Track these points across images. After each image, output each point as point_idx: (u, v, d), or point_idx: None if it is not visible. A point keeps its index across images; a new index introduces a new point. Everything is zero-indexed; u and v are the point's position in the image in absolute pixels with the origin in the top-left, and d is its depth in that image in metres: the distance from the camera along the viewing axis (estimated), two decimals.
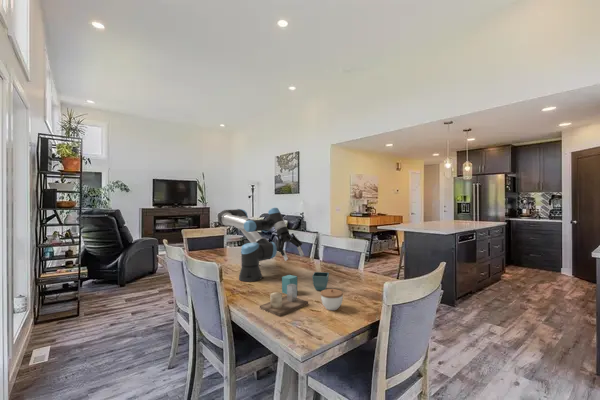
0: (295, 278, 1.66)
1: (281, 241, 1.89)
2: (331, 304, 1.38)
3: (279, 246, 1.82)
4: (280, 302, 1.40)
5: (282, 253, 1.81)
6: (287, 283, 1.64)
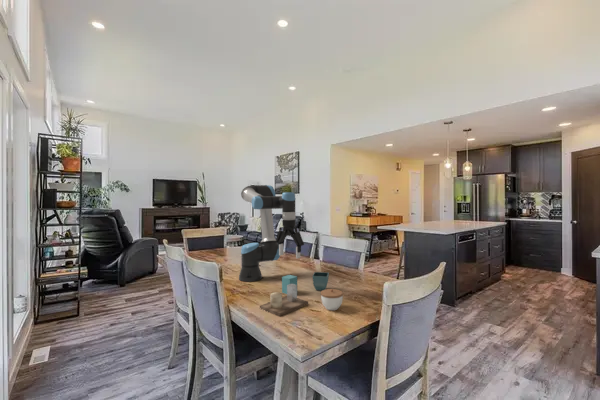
0: (295, 278, 1.66)
1: None
2: (331, 304, 1.38)
3: (277, 239, 1.72)
4: (280, 302, 1.40)
5: (278, 247, 1.72)
6: (287, 283, 1.64)
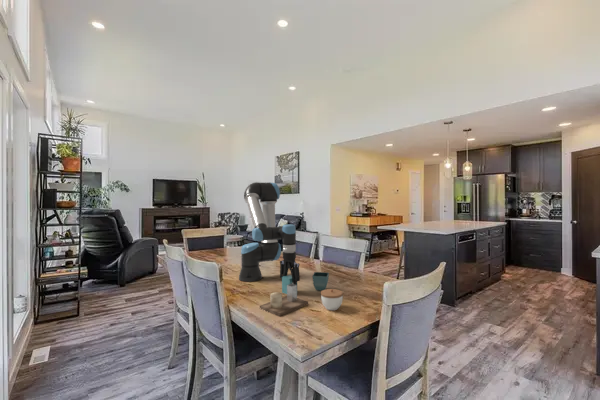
0: None
1: None
2: (331, 304, 1.38)
3: (280, 274, 1.70)
4: (280, 302, 1.40)
5: None
6: (287, 283, 1.64)
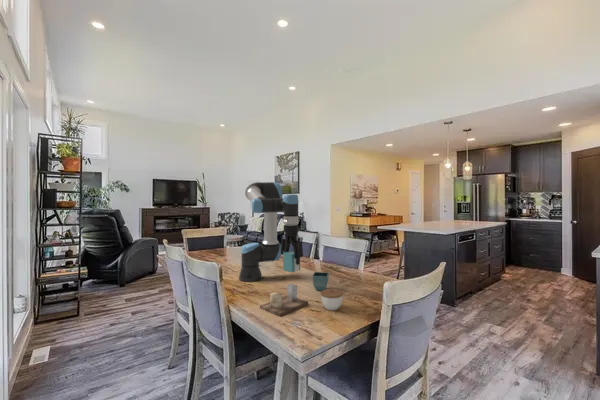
0: None
1: None
2: (331, 304, 1.38)
3: (281, 250, 1.52)
4: (280, 302, 1.40)
5: None
6: (289, 259, 1.46)
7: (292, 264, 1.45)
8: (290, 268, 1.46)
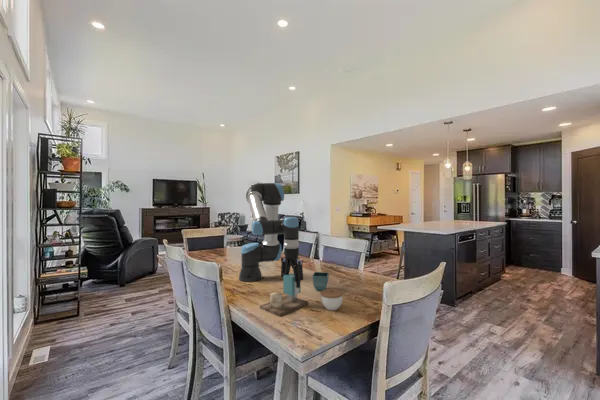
0: None
1: None
2: (331, 304, 1.38)
3: (282, 272, 1.52)
4: (280, 302, 1.40)
5: None
6: (289, 282, 1.46)
7: (292, 287, 1.45)
8: (290, 291, 1.46)
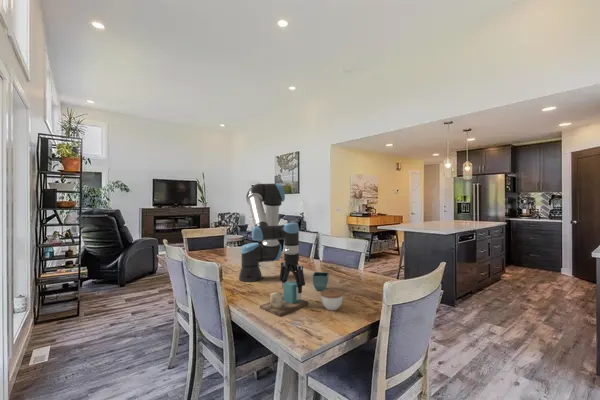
0: None
1: None
2: (331, 304, 1.38)
3: (280, 277, 1.53)
4: (280, 302, 1.40)
5: (282, 286, 1.53)
6: (289, 290, 1.46)
7: (292, 295, 1.46)
8: (290, 299, 1.46)
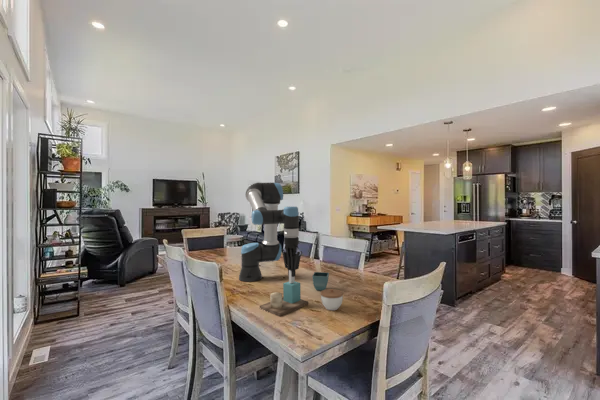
0: (298, 285, 1.49)
1: None
2: (331, 304, 1.38)
3: (285, 263, 1.51)
4: (280, 302, 1.40)
5: (288, 273, 1.50)
6: (289, 290, 1.46)
7: (292, 295, 1.46)
8: (290, 299, 1.46)
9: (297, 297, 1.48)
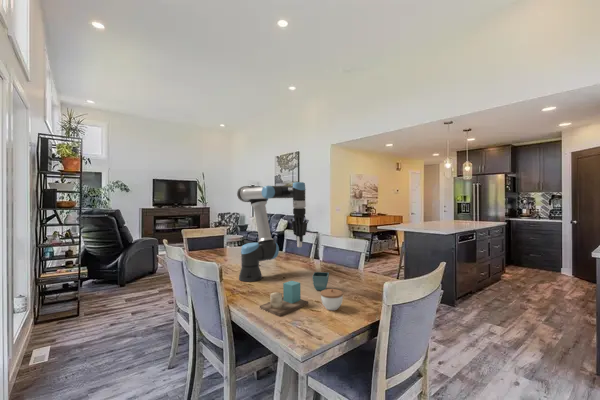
0: (298, 285, 1.49)
1: None
2: (331, 304, 1.38)
3: (294, 231, 1.77)
4: (280, 302, 1.40)
5: None
6: (289, 290, 1.46)
7: (292, 295, 1.46)
8: (290, 299, 1.46)
9: (297, 297, 1.48)
